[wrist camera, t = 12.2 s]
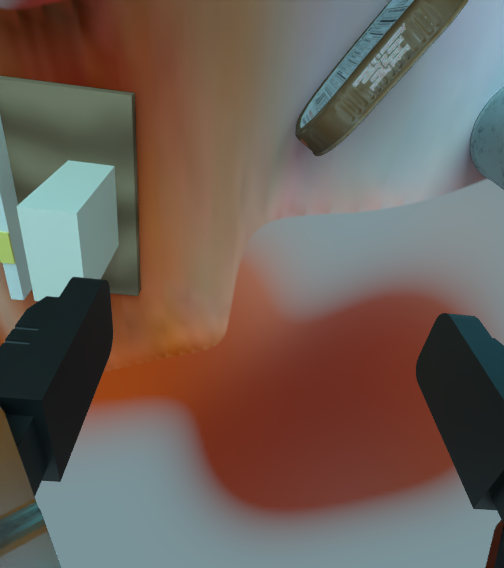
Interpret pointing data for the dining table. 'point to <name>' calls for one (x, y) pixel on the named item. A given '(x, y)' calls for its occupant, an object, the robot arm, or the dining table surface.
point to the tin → (372, 69)
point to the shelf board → (77, 151)
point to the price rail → (11, 230)
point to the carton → (69, 226)
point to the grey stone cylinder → (490, 140)
